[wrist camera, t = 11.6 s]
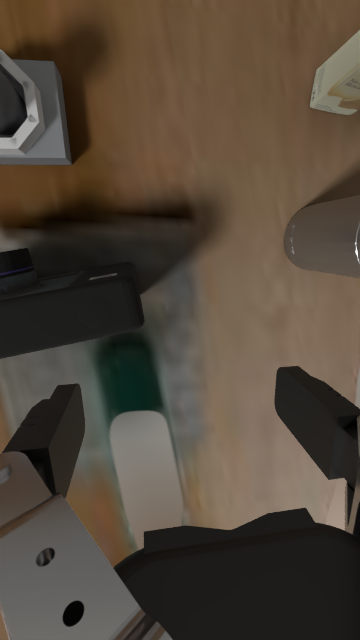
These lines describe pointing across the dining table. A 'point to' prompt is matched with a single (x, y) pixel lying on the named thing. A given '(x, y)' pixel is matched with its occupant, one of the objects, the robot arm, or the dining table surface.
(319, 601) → the robot arm
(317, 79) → the skincare box
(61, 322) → the camera
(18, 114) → the lens
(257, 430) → the dining table surface
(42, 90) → the mount block
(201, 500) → the dining table surface
